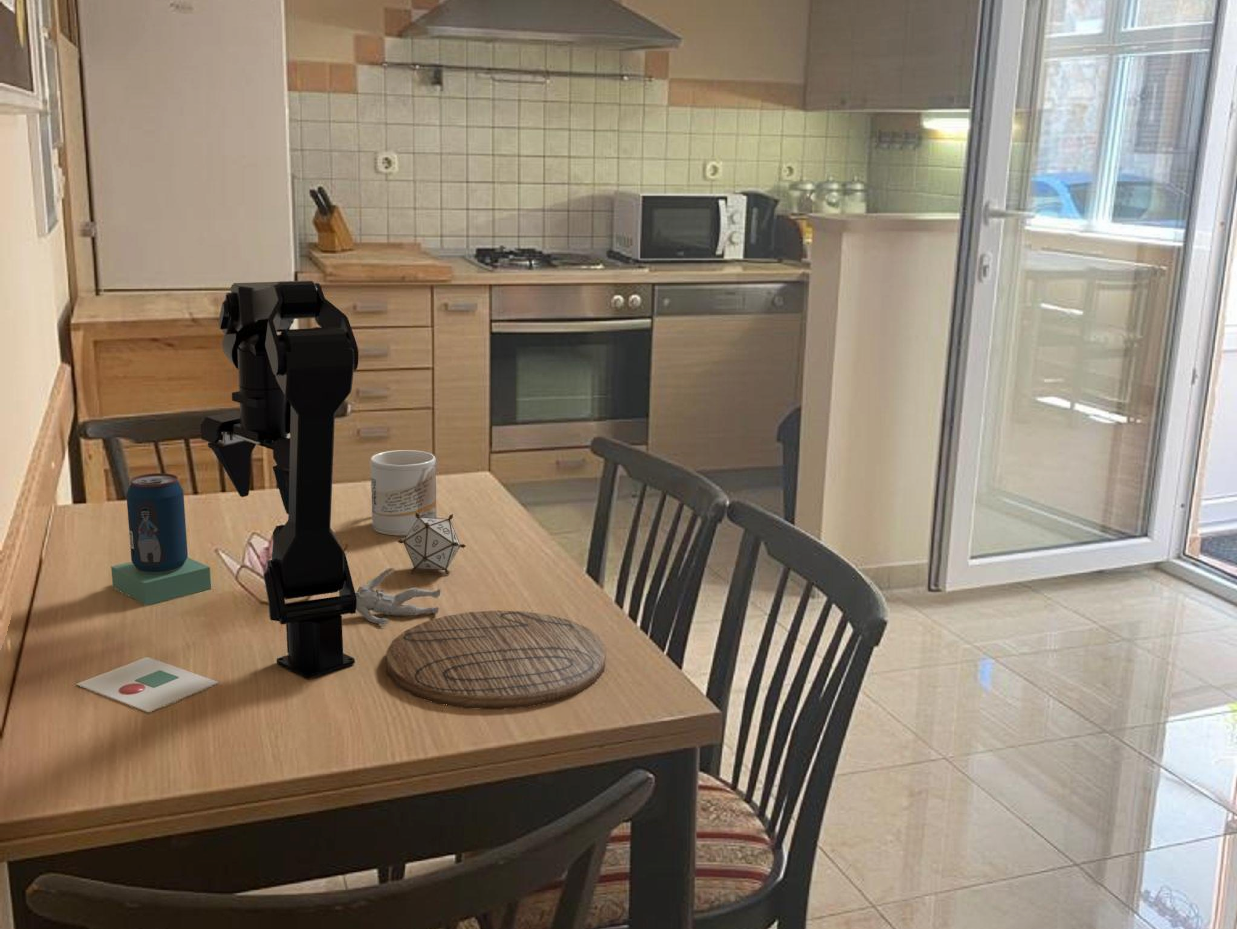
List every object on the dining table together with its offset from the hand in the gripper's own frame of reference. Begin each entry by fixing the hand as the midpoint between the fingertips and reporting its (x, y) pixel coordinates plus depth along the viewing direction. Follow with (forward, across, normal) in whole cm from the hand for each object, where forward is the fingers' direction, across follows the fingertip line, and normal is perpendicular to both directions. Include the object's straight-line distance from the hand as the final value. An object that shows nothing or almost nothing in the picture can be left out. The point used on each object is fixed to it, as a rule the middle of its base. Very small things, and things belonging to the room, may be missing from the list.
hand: (267, 504), depth 158 cm
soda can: (+11, +14, +6) cm, 19 cm away
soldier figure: (+13, -16, -6) cm, 21 cm away
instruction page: (+12, -11, +25) cm, 30 cm away
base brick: (+14, +14, +6) cm, 21 cm away
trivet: (+12, -36, -4) cm, 38 cm away
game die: (+13, -8, -22) cm, 27 cm away
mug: (+15, +11, -34) cm, 39 cm away
